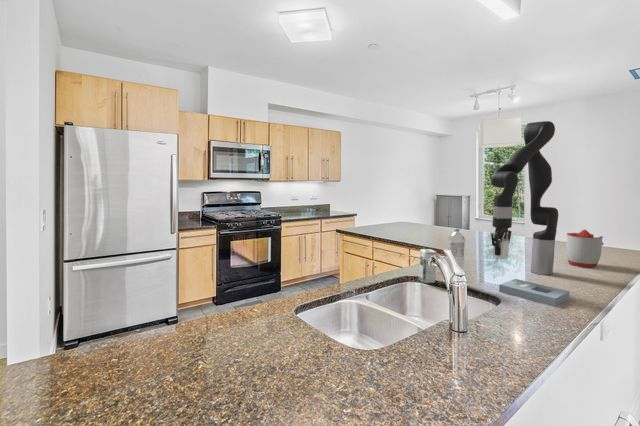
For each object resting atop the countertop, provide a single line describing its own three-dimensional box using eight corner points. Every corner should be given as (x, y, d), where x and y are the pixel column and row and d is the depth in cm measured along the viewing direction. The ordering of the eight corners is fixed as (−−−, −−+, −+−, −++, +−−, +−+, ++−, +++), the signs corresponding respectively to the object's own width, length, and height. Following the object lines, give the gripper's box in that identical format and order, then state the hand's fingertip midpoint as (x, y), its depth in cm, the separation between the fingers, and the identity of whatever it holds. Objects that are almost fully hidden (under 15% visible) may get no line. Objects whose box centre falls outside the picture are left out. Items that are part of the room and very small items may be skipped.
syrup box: (418, 279, 153) (419, 249, 152) (430, 279, 153) (431, 248, 152) (423, 283, 147) (424, 251, 146) (435, 283, 148) (437, 251, 146)
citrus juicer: (611, 269, 173) (615, 231, 171) (578, 269, 173) (581, 231, 171) (588, 262, 188) (591, 227, 186) (557, 261, 189) (560, 227, 187)
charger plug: (497, 255, 151) (498, 238, 150) (508, 257, 147) (509, 240, 146) (492, 257, 148) (493, 239, 147) (503, 259, 145) (503, 241, 144)
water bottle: (455, 287, 141) (458, 230, 139) (442, 283, 147) (445, 228, 145) (466, 285, 144) (469, 229, 142) (453, 281, 150) (455, 227, 148)
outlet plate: (514, 285, 145) (515, 278, 145) (568, 298, 129) (569, 290, 128) (499, 291, 137) (499, 283, 136) (554, 306, 121) (555, 297, 120)
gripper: (501, 214, 153) (499, 250, 155) (485, 217, 145) (483, 255, 146) (518, 216, 147) (516, 253, 149) (503, 218, 139) (501, 258, 140)
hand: (500, 254), depth 148 cm, fingers closed on charger plug, 4 cm apart
